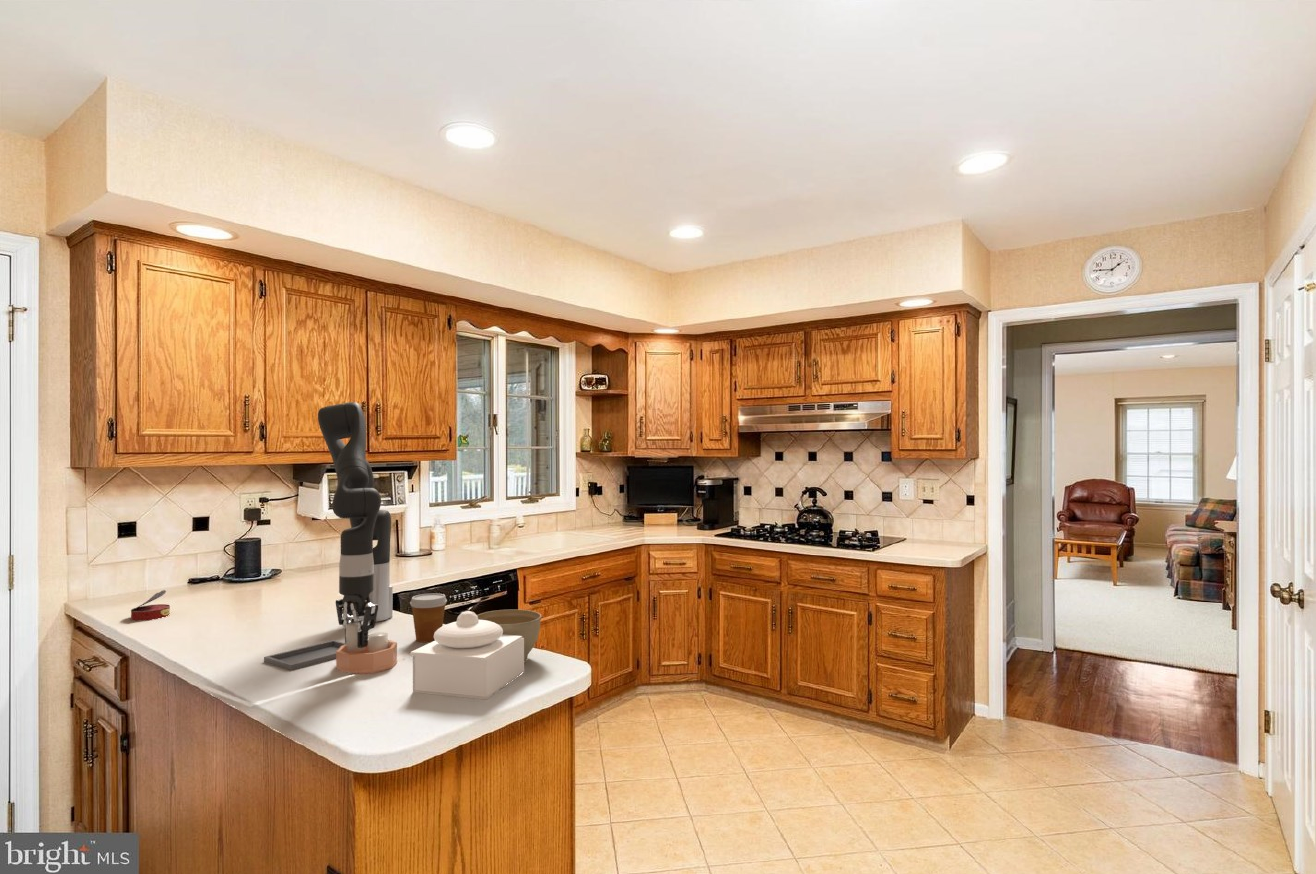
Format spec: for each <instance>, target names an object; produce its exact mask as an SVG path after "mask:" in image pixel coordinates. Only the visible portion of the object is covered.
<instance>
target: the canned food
mask: <svg viewBox="0 0 1316 874" xmlns="http://www.w3.org/2000/svg"><path fill="white" fill-rule="evenodd" d="M166 592H167V591H166V590H164V589H163V590H161V591H160V592H156V593H154V594H153V595H152V596H151V597H150V598H149V599H147V600H146V601H145V602H143V603H142V604H140V605H139V606H136V607H134V608H131V610H130V620H131V621H134V620H136V622H137V621H139V620H145V621H153V620H152V619H154V620H159V619H158V618H160V619H163V618H162V617H164V618H167V617H169V616H170V615H171V609H170V608H171V606H170V604H164V603H163V604H149V603H151V602H153V601H154V600H155V601H156V599H158V598H161V597H162V596H164V595H165V594H166ZM146 604H147V605H146ZM148 604H149V605H148ZM169 614H170V615H169ZM168 615H169V616H168ZM166 616H167V617H166Z"/></svg>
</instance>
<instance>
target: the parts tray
mask: <svg viewBox="0 0 1316 874" xmlns="http://www.w3.org/2000/svg"><path fill="white" fill-rule="evenodd" d="M342 645H346V644H345V641H344V642H343V641H340V640H336V639H332V640H328V641H324V642H321V643H316V644H312V645H311V644H310V645H308V646H304V647H300V648H294V649H291V650H286V651H283V652H280V653H274V654H270V655H267V656H266V655H265V656H263V663H266V664H269V665H270V666H275V667H278V668H281V669H285V670H287V671H295V670H298V669H301V668H302V669H303V668H306V667H310V666H314V665H317V664H321V663H325V662H329V661H333V660H336V651H337V650H338V649H339V648H340V647H341V646H342Z"/></svg>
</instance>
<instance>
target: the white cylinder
mask: <svg viewBox="0 0 1316 874" xmlns="http://www.w3.org/2000/svg"><path fill="white" fill-rule="evenodd" d="M388 637H389V635H388V632H385V631H384V632H379V631H378V632H373V633H369V634H368V653H374V652H377V651H381V650H385V649H388V640H389V638H388Z"/></svg>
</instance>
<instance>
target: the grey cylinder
mask: <svg viewBox="0 0 1316 874" xmlns="http://www.w3.org/2000/svg"><path fill="white" fill-rule="evenodd" d="M361 624H362V626H363V621H361ZM357 643H358V629H357V623H355V622H350V623H347V624H346V651H348V652H356V651H362V650H365V649H366V647H363V648H358V646H357Z"/></svg>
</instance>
